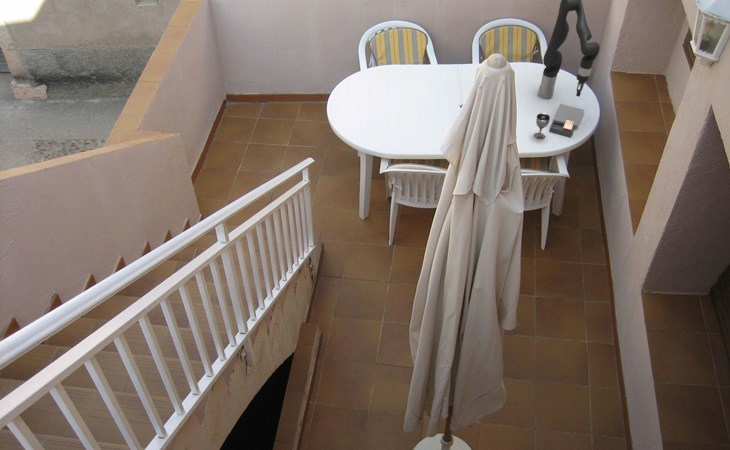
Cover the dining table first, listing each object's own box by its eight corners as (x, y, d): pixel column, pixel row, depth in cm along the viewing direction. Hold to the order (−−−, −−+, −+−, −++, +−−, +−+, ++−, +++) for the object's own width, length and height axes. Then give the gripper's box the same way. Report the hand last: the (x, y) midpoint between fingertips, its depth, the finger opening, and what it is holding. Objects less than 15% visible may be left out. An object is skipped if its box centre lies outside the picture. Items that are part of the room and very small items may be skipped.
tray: (549, 131, 441) (550, 127, 438) (552, 123, 446) (553, 119, 444) (570, 137, 436) (571, 133, 434) (574, 129, 442) (575, 125, 440)
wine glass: (531, 132, 440) (535, 113, 430) (543, 131, 441) (547, 112, 430) (534, 140, 435) (538, 121, 424) (547, 139, 435) (551, 120, 424)
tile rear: (563, 128, 441) (564, 126, 439) (566, 121, 442) (566, 119, 440) (571, 130, 439) (571, 128, 437) (573, 123, 441) (574, 121, 438)
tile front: (564, 128, 441) (562, 131, 440) (564, 124, 436) (563, 127, 435) (571, 130, 439) (570, 133, 438) (572, 126, 435) (571, 129, 434)
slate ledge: (552, 123, 447) (552, 119, 445) (559, 107, 459) (560, 103, 457) (576, 129, 442) (577, 125, 440) (583, 113, 454) (584, 109, 452)
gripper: (580, 65, 425) (574, 88, 438) (575, 76, 417) (569, 99, 430) (592, 68, 423) (586, 91, 436) (587, 79, 415) (581, 103, 428)
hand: (577, 95), depth 433 cm, fingers closed
